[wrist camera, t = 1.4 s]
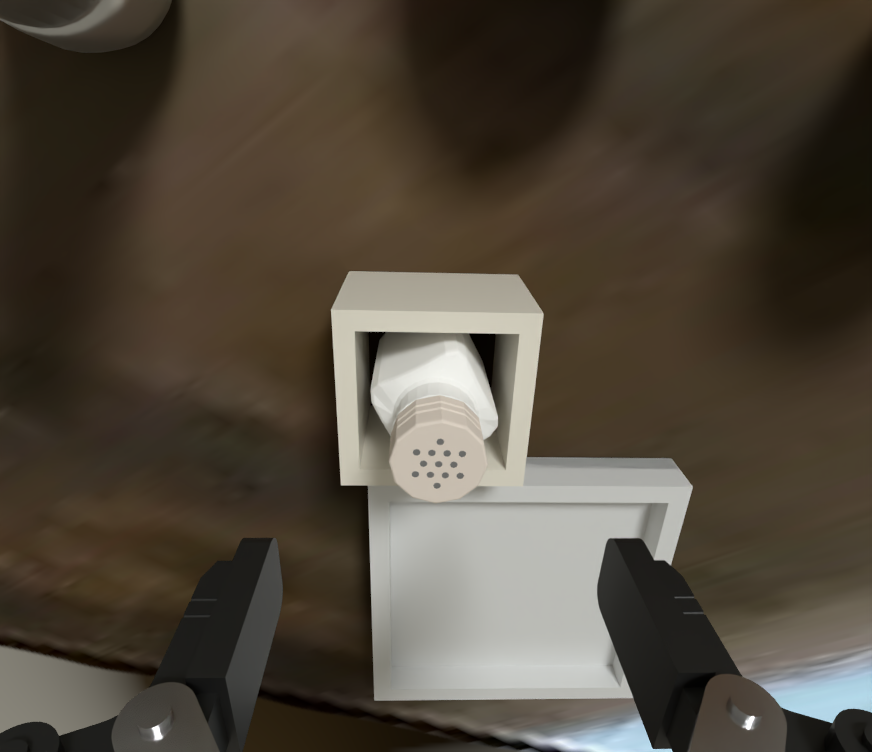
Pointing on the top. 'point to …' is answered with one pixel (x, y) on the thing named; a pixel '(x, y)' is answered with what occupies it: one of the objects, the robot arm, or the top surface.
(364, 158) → the top surface
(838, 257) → the top surface
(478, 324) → the holder
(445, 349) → the pepper shaker
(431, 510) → the tray
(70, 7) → the plastic bottle
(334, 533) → the top surface
